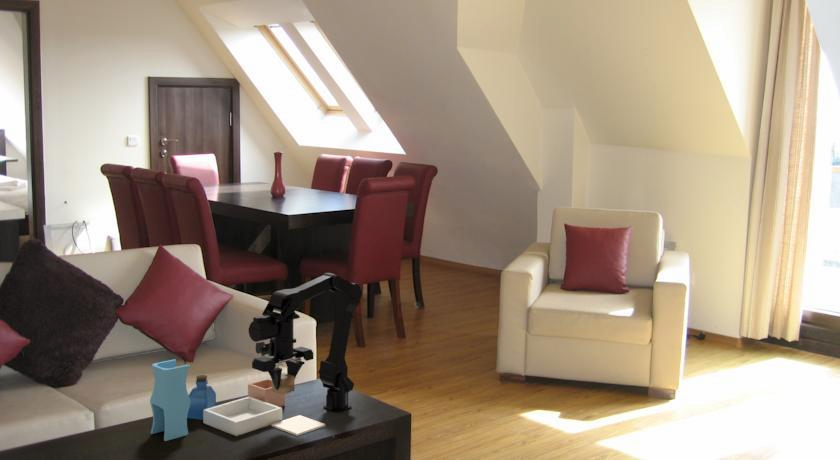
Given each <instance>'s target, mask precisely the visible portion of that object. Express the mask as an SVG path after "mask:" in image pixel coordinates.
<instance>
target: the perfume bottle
mask: <svg viewBox="0 0 840 460" xmlns="http://www.w3.org/2000/svg"><path fill="white" fill-rule="evenodd" d="M195 378H196V380H195V387H193V388H192V389H191V390H190V392H189V394H188V395H189V398H190V407H189V410H188V415H187V419H194V420H203V410H204V409H208V408H211V407H215V406H217V393H216V392H215V390H214V388H213V387H212V386H211V385H208V384H209V381H208V379H207V378H208V375H207V374H206V375H204V374H203V375H202V374H200V375H197V376H195Z"/></svg>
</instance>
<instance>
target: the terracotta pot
mask: <svg viewBox="0 0 840 460" xmlns="http://www.w3.org/2000/svg"><path fill="white" fill-rule="evenodd" d="M249 396H250V397H253V398H255V399H258V400H261V401H264V402H267V403H270V404H272V405H275V406H278V407H281V408H283V407H286V394H283V395H282V394H279V393H277V392H274V391H272V379H271V378H266V379H264V378H263V379H261V380H257V381H254V382H251V383H248V384H247V397H249Z"/></svg>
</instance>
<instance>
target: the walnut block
mask: <svg viewBox="0 0 840 460" xmlns="http://www.w3.org/2000/svg"><path fill="white" fill-rule="evenodd" d="M272 391H274V392H277V393H279V394H282V395H283V394H285V395H286V394H289V393H293V392H295V380H294V376H293V375H290V374H287V372H282V374H281V380H280V386H279V390H276V389H275V387H274V384H273V382H272Z"/></svg>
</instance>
